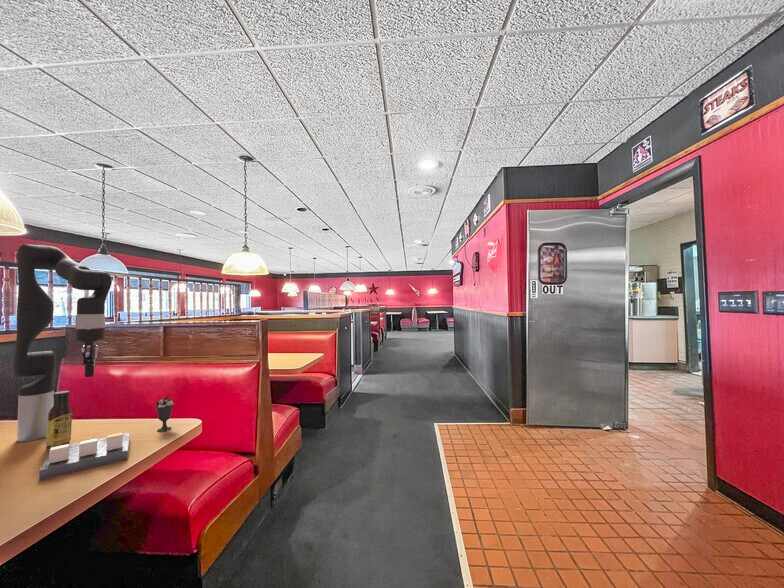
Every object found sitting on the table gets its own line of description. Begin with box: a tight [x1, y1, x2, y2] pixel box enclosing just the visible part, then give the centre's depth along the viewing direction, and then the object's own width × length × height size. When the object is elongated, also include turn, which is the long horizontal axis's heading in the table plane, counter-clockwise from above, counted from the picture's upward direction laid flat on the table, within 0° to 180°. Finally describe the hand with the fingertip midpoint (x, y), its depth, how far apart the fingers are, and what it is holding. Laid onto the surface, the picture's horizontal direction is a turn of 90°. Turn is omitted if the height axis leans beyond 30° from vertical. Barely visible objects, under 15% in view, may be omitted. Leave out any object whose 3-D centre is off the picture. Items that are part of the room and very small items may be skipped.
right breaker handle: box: [48, 443, 71, 463], centre depth 97 cm, size 2×4×4 cm, turn 128°
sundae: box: [154, 394, 175, 433], centre depth 129 cm, size 7×7×15 cm
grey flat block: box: [38, 432, 131, 481], centre depth 105 cm, size 18×20×3 cm
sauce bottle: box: [45, 390, 73, 451], centre depth 113 cm, size 7×6×20 cm
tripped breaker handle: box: [106, 432, 124, 451], centre depth 106 cm, size 2×4×4 cm, turn 129°
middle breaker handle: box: [79, 438, 98, 457], centre depth 102 cm, size 2×4×4 cm, turn 129°
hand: (89, 376), depth 108 cm, fingers closed
